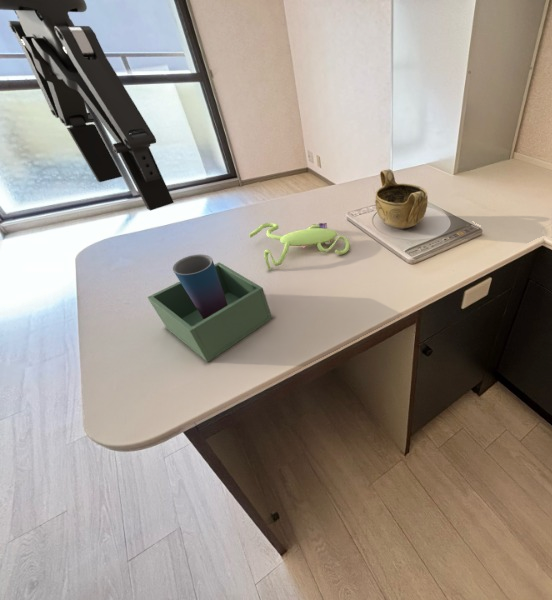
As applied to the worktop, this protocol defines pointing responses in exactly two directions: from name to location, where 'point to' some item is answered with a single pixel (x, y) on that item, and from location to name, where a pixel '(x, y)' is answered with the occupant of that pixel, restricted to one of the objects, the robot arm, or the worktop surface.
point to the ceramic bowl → (400, 202)
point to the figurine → (301, 239)
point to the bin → (221, 325)
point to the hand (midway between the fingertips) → (134, 191)
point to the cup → (201, 283)
